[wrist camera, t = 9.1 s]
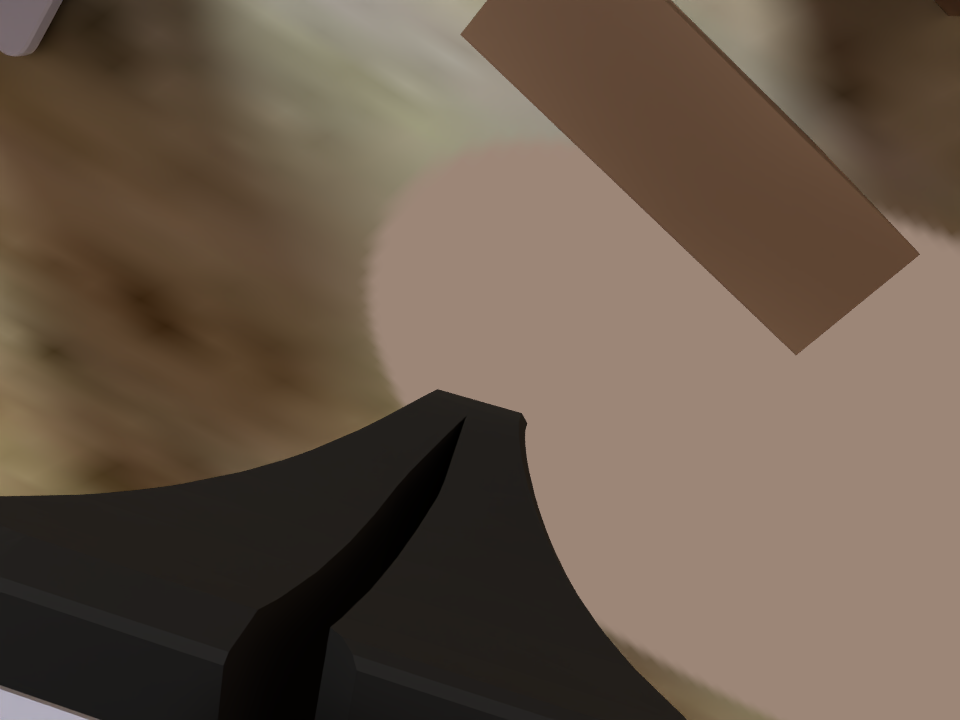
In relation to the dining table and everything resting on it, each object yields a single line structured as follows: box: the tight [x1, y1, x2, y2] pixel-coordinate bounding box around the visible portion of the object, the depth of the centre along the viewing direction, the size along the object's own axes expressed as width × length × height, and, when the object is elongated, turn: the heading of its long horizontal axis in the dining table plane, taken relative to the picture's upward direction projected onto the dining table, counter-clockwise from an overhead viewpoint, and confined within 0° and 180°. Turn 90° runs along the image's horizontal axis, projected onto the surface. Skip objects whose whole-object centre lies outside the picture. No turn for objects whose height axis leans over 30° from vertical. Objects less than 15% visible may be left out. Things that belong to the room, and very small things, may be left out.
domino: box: [460, 0, 920, 355], centre depth 13 cm, size 2×5×8 cm, turn 49°
